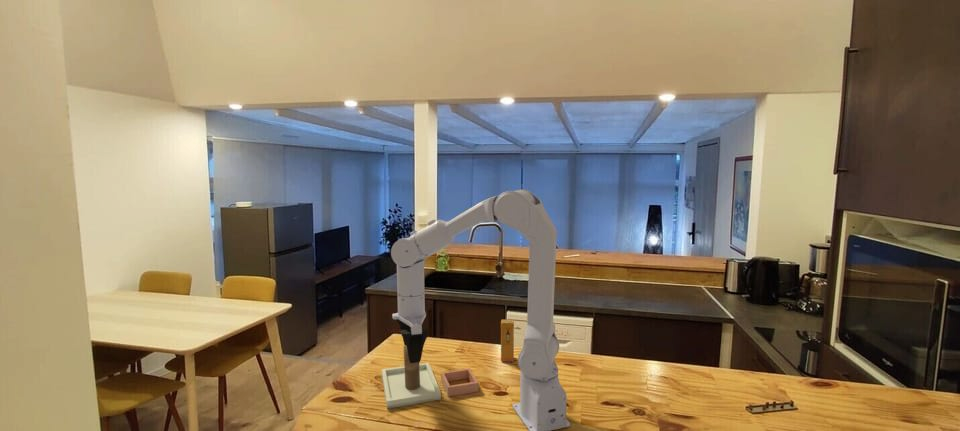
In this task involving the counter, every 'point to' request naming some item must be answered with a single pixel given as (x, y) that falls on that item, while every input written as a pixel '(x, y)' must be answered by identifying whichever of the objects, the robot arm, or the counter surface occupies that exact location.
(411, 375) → the dowel
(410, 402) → the tray
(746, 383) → the counter surface
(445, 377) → the holder
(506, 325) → the supplement box
